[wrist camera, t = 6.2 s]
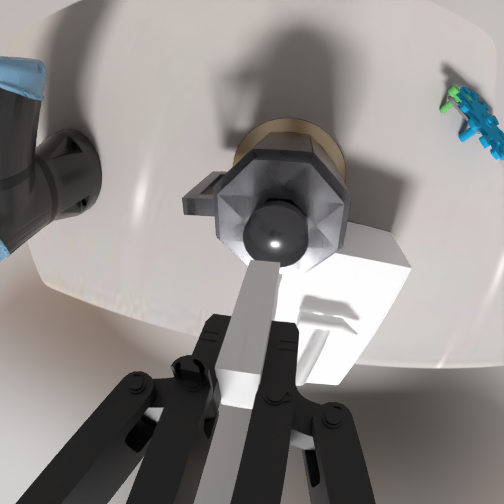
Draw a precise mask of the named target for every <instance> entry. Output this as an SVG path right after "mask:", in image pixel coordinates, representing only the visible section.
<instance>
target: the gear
mask: <svg viewBox="0 0 504 504" xmlns="http://www.w3.org/2000/svg"><path fill="white" fill-rule="evenodd" d="M448 93H449V94H450V95H449V96H448V99H449V101H448V102H447V103H446V104H445V105H443V106H442V107H441V108H440V111H441V113H444V112H446V111H447V110H448V109H449V108H451V107H452V106H454V107H455V108H456V109H457V110H458V111H459V113H460V114H461V115H462V116H463V117H464V118H465V119H466V120H467V122H468V124H469V126H470V128H468V129H467V130H466V131H464V132H463V133H461V134H460V135H459V139H460V140H461V141H462V142H463V141H465V140H466V139H468V138H470V137H471V136H473V135H474V134H476V133H478V134H480V133H481V134H482V135H483V136H482V137H480V138H479V140H480V142H481V144H482V145H483V147H484V148H487V147H488V146H490V144H491V146H492V149H491V150H490V152H491V154H492V156H493V157H494V158H495V159H498V158H500V159H501V160H504V133H503V132H502V131H501V130H500V129H499V128H498V127H497V125H498V124H499V123H498V121H497V119H496V117H495V116H491V115H490V114H489V113H488V112H487V110H489V107H488V106H487V104H486V103H485V102H484V101H483V102H481V103H479V102H478V100H477V99H479V97H478V95H477V94H476V93H475V92H474V91H473V90H472V91H471V92H470V91H469V90H468V88H466V87H464V86H463V87H462V88H461V89H460V90H459V88H458V87H457V86H456V85H453V86H452V87H451V88H450V89H449V90H448ZM460 102H461V103H460Z"/></svg>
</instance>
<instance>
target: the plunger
mask: <svg viewBox="0 0 504 504" xmlns="http://www.w3.org/2000/svg"><path fill="white" fill-rule="evenodd" d="M308 242H309V229H308V223H307V220H306V218H305V216H304V214H303V212H302V211H301V210H300V209H299V207H298V206H297V205H296V204H295V203H294V202H293V201H292V200H291V199H279V198H269V199H268V200H266V201H265V202H264V203H263V204H261V205H259V206H258V207H257V208H256V209H255V210H254V211H253V212H252V213H251V215H250V217H249V219H248V221H247V223H246V225H245V228H244V231H243V243H244V246H245V249H246V251H247V252H248V254H249V255H250V256H251V257H252V258H253V259H254V260H258V261H269V262H280V268H283V267H287V266H290V265H293V264H295V263H296V262H298V261H299V260H300V259H301V258H302V257H303V256H304V254H305V252H306V251H307V248H308Z"/></svg>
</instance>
